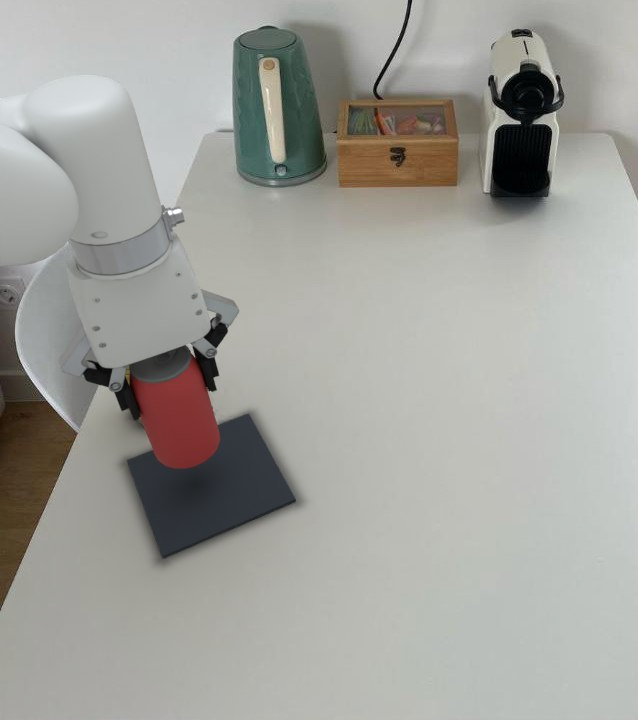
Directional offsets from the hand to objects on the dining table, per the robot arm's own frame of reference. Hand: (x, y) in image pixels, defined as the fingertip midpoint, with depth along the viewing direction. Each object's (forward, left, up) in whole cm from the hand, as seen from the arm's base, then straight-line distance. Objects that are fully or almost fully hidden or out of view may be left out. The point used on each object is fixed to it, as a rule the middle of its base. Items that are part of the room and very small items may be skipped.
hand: (171, 395), depth 76 cm
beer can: (0, 0, -8) cm, 8 cm away
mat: (+1, 0, -13) cm, 14 cm away
